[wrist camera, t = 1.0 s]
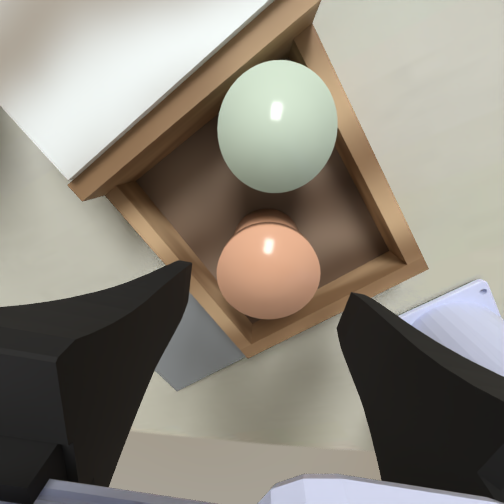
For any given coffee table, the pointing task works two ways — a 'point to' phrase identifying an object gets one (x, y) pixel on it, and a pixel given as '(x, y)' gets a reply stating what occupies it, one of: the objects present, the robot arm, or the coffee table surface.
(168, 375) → the slate tile
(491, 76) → the coffee table surface
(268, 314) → the peach rounded knob
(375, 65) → the coffee table surface
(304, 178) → the mint green knob
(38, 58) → the cold frame
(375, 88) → the coffee table surface
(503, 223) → the coffee table surface
